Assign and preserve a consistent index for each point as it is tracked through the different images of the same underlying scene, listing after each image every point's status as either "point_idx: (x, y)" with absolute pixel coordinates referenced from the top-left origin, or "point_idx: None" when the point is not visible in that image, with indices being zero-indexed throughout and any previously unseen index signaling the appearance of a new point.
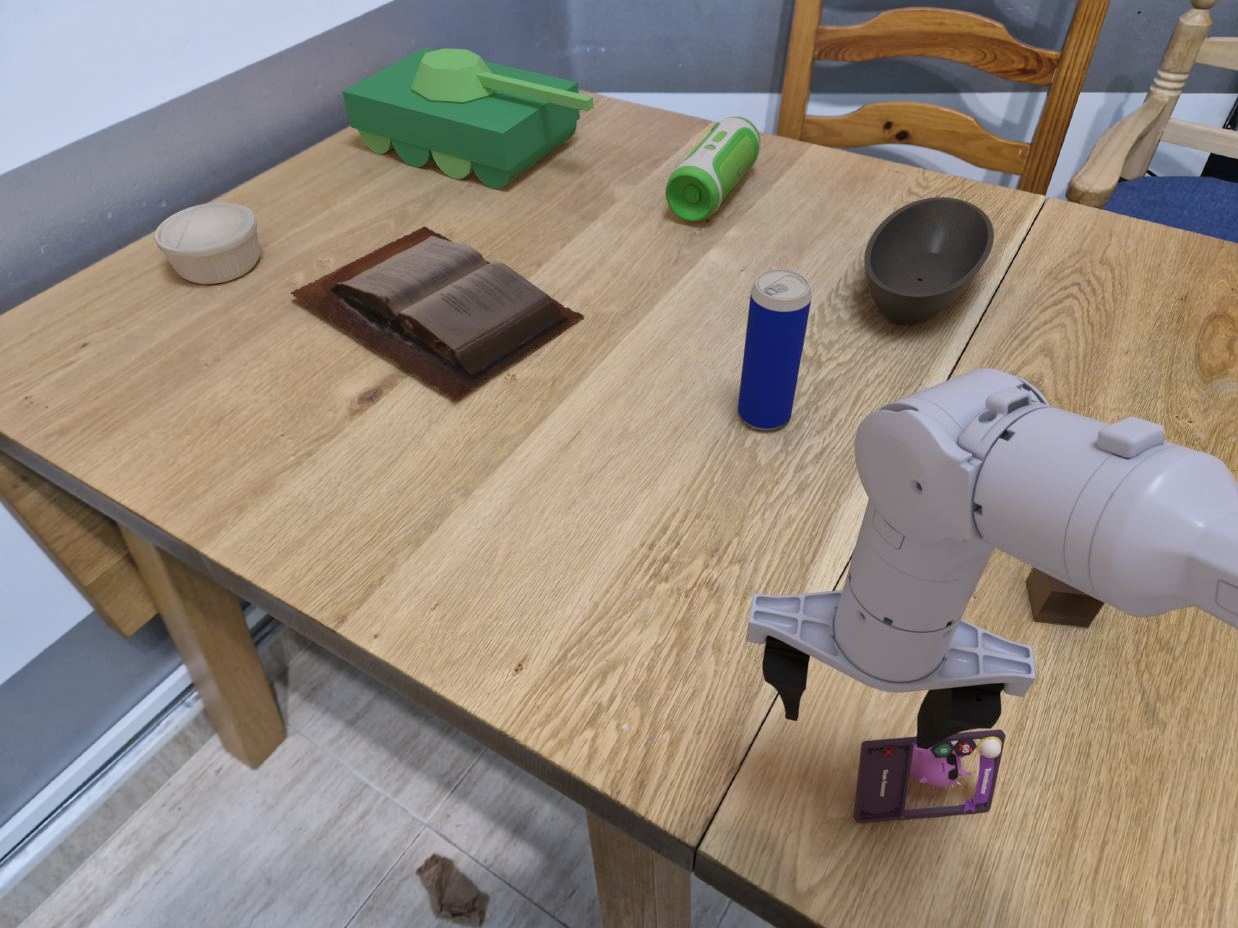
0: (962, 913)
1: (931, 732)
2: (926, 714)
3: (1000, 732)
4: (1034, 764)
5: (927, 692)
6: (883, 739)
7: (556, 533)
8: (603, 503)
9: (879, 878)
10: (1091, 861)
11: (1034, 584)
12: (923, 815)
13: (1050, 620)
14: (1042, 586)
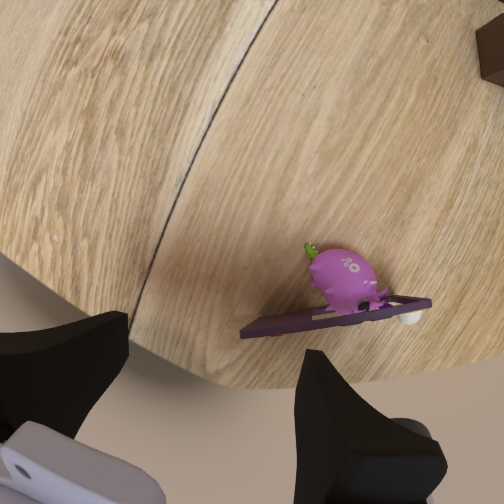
0: None
1: (297, 448)
2: (305, 399)
3: (427, 306)
4: (450, 246)
5: (316, 370)
6: (268, 327)
7: (3, 54)
8: (36, 6)
9: (278, 363)
10: (458, 330)
11: (486, 42)
12: (330, 312)
13: (495, 82)
14: (498, 51)
